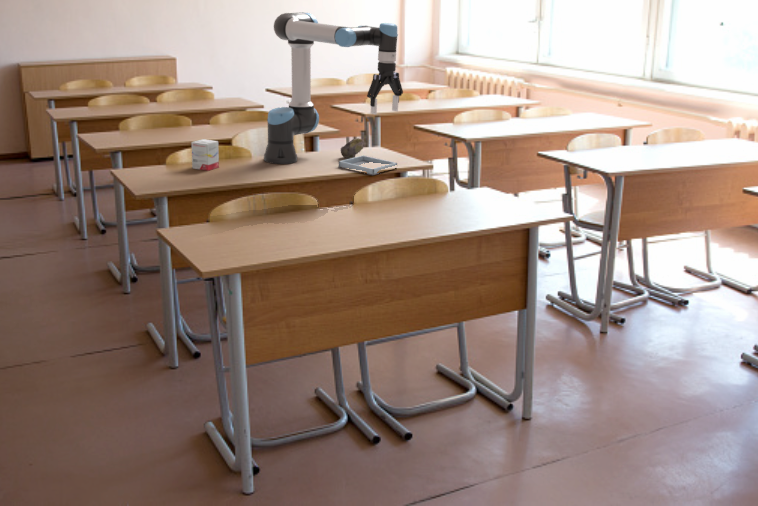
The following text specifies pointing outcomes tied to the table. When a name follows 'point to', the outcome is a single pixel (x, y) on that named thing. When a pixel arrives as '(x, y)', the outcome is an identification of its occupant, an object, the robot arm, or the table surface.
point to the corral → (355, 162)
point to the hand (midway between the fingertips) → (384, 112)
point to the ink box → (205, 154)
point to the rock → (352, 148)
